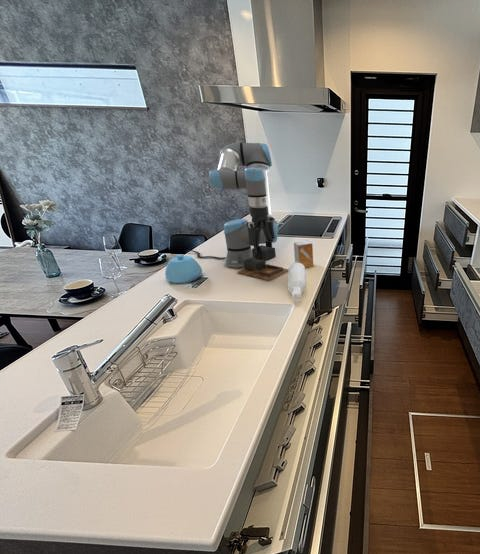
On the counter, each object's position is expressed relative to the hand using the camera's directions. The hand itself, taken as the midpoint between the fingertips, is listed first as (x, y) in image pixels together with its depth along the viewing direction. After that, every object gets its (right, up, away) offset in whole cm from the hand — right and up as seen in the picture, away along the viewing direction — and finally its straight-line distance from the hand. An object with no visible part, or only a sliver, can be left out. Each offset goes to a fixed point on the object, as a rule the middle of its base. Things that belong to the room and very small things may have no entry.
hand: (264, 257), depth 138 cm
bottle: (+13, -6, +9) cm, 17 cm away
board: (-6, -7, +16) cm, 18 cm away
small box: (+13, -3, +25) cm, 28 cm away
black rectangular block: (0, 0, 0) cm, 0 cm away
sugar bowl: (-40, -10, +6) cm, 42 cm away
